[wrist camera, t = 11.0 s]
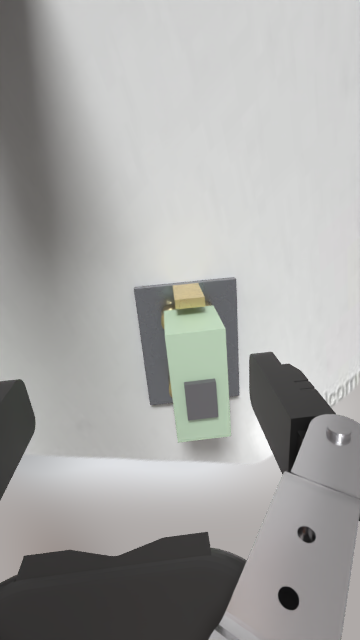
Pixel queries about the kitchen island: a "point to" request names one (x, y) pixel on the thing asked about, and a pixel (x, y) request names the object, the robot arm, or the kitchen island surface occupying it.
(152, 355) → the metal plate
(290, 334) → the kitchen island surface
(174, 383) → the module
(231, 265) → the kitchen island surface
